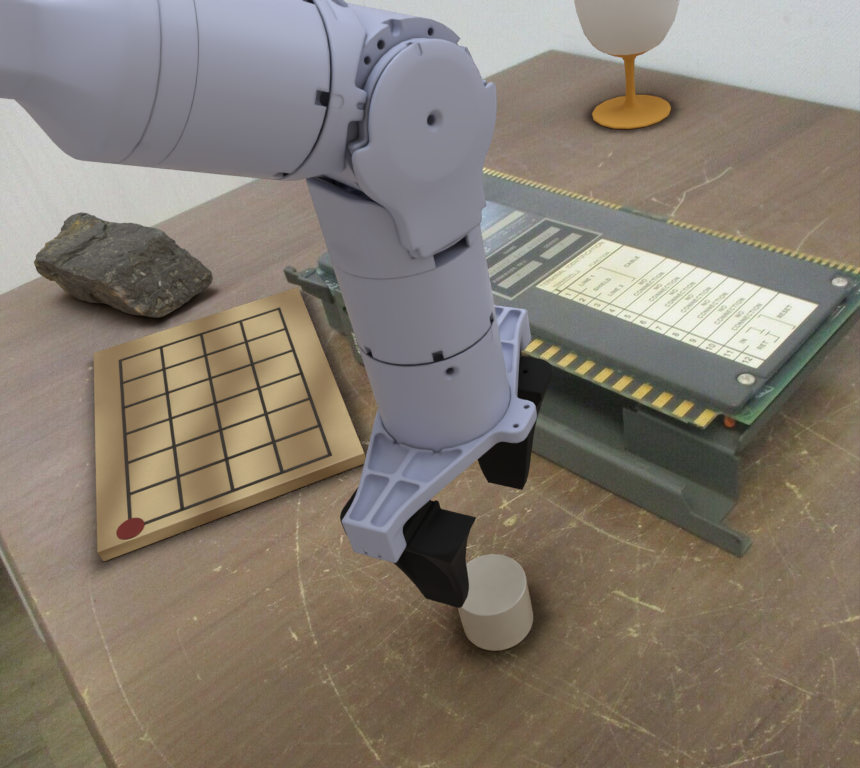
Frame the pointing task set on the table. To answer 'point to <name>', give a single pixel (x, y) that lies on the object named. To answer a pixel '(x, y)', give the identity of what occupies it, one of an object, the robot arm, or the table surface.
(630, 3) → the cup
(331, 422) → the board
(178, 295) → the rock
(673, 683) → the table surface
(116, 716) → the table surface
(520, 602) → the grey short cylinder
